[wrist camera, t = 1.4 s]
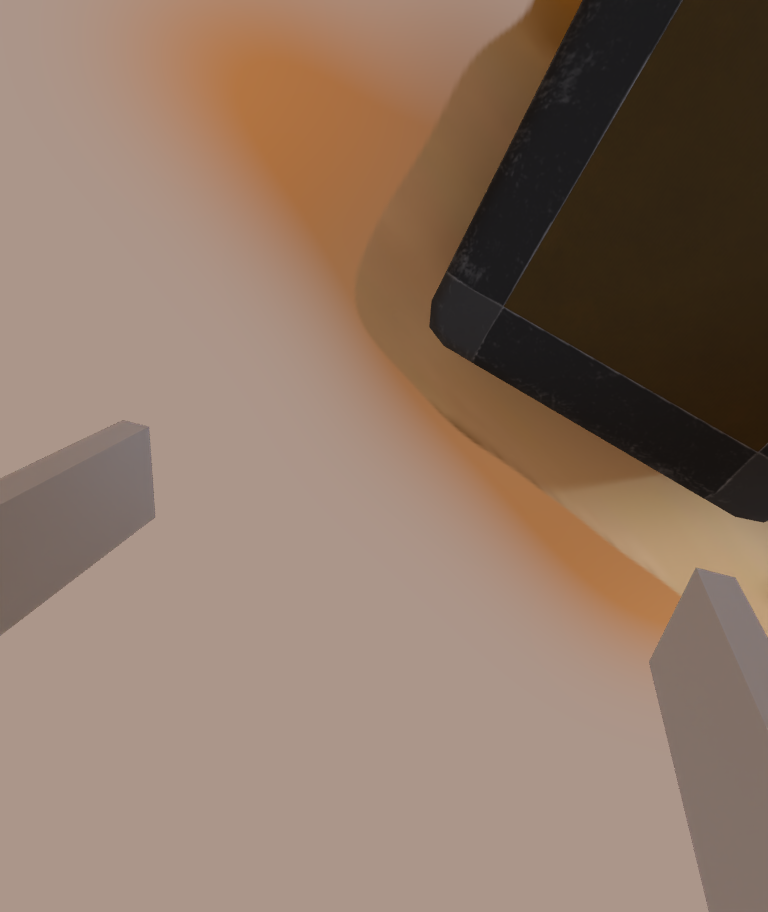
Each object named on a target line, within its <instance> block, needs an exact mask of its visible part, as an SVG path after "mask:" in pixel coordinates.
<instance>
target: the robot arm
mask: <svg viewBox="0 0 768 912" xmlns="http://www.w3.org/2000/svg"><path fill="white" fill-rule="evenodd" d="M149 435H150V434H149V427H147V426H144V425H140V424H136V423H132V422H128V421H125V420H122V421H121V422H118V423H116V424H114V425H112V426H110V427H108V428H105V429H104V430H101V431H99V432H97V433H95V434H93V435H91V436H89V437H87V438H84V439H82V440H80V441H78V442H76V443H74V444H72V445H70V446H68V447H66V448H63V449H61V450H59V451H57V452H55V453H53V454H51V455H49V456H47V457H44V458H42V459H40V460H38V461H36V462H34V463H32V464H30V465H28V466H26V467H23V468H21V469H19V470H17V471H15V472H13V473H11V474H9V475H7V476H4V477H2V478H0V635H2V634H3V633H4V632H6V631H7V630H8V629H10V628H11V627H12V626H13V625H15V624H16V623H17V622H19V621H20V620H21V619H23V618H24V617H25V616H27V615H28V614H29V613H30V612H32V611H33V610H34V609H36V608H37V607H38V606H40V605H41V604H42V603H44V602H45V601H46V600H48V599H49V598H50V597H51V596H53V595H54V594H55V593H57V592H58V591H59V590H61V589H62V588H63V587H64V586H66V585H67V584H68V583H69V582H71V581H72V580H74V579H75V578H76V577H78V576H79V575H80V574H81V573H83V572H84V571H85V570H87V569H88V568H89V567H91V566H92V565H93V564H94V563H96V562H97V561H99V560H100V559H101V558H102V557H104V556H105V555H106V554H108V553H109V552H110V551H112V550H113V549H114V548H116V547H117V546H118V545H119V544H121V543H122V542H123V541H125V540H126V539H127V538H129V537H130V536H131V535H133V534H134V533H135V532H136V531H138V530H139V529H140V528H142V527H143V526H144V525H146V524H147V523H148V522H149V521H151V520H152V519H153V518H155V506H154V494H153V493H154V492H153V477H152V463H151V449H150V436H149ZM649 663H650V668H651V672H652V676H653V680H654V685H655V689H656V692H657V697H658V701H659V705H660V710H661V714H662V718H663V722H664V726H665V731H666V735H667V738H668V743H669V747H670V751H671V756H672V760H673V764H674V768H675V772H676V776H677V780H678V785H679V789H680V793H681V797H682V801H683V806H684V810H685V814H686V818H687V822H688V826H689V830H690V834H691V839H692V843H693V847H694V851H695V855H696V860H697V864H698V868H699V872H700V876H701V880H702V885H703V889H704V893H705V897H706V901H707V906H708V910H709V912H768V638H767V636H766V634H765V632H764V630H763V628H762V626H761V624H760V623H759V621H758V619H757V617H756V615H755V613H754V611H753V610H752V608H751V606H750V604H749V602H748V600H747V598H746V597H745V595H744V593H743V591H742V589H741V587H740V585H739V584H738V582H737V580H736V578H734V577H731V576H727V575H723V574H719V573H715V572H711V571H707V570H703V569H699V568H695V570H694V572H693V574H692V576H691V578H690V580H689V582H688V584H687V587H686V589H685V591H684V593H683V595H682V597H681V599H680V601H679V603H678V605H677V607H676V609H675V611H674V613H673V615H672V617H671V619H670V621H669V623H668V625H667V627H666V629H665V631H664V633H663V635H662V637H661V639H660V641H659V643H658V645H657V647H656V649H655V651H654V653H653V655H652V657H651V659H650V661H649Z"/></svg>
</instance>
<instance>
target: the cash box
mask: <svg viewBox="0 0 768 912" xmlns="http://www.w3.org/2000/svg"><path fill="white" fill-rule="evenodd" d="M429 327H430V328H431V330H432V331H433V332H434V334H435V335H436V336H437V337H438V339H439V340H440V341H441V343H442V344H443V345H444V346H445V347H447V348H449V349H450V350H452V351H454V352H455V353H457V354H459V355H461V356H462V357H464V358H466V359H467V360H469V361H471V362H472V363H474V364H476V365H477V366H479V367H481V368H482V369H484V370H486V371H488V372H489V373H491V374H493V375H494V376H496V377H498V378H499V379H501V380H503V381H505V382H506V383H508V384H510V385H511V386H513V387H515V388H517V389H518V390H520V391H522V392H523V393H525V394H527V395H528V396H530V397H532V398H534V399H535V400H537V401H539V402H540V403H542V404H544V405H545V406H547V407H549V408H551V409H552V410H554V411H556V412H557V413H559V414H561V415H563V416H564V417H566V418H568V419H569V420H571V421H573V422H574V423H576V424H578V425H580V426H581V427H583V428H585V429H586V430H588V431H590V432H591V433H593V434H595V435H597V436H598V437H600V438H602V439H603V440H605V441H607V442H609V443H610V444H612V445H614V446H615V447H617V448H619V449H620V450H622V451H624V452H626V453H627V454H629V455H631V456H632V457H634V458H636V459H637V460H639V461H641V462H643V463H644V464H646V465H648V466H649V467H651V468H653V469H655V470H656V471H658V472H660V473H661V474H663V475H665V476H666V477H668V478H670V479H672V480H673V481H675V482H677V483H678V484H680V485H682V486H684V487H685V488H687V489H689V490H690V491H692V492H694V493H695V494H697V495H699V496H701V497H702V498H704V499H706V500H708V501H709V502H711V503H713V504H714V505H716V506H718V507H720V508H721V509H723V510H725V511H726V512H728V513H730V514H732V515H733V516H735V517H739V518H744V519H749V520H754V521H759V522H766V521H768V0H583V1H582V3H581V5H580V7H579V9H578V11H577V13H576V15H575V16H574V18H573V20H572V22H571V24H570V26H569V28H568V30H567V32H566V34H565V36H564V38H563V40H562V42H561V44H560V46H559V48H558V50H557V52H556V54H555V56H554V58H553V60H552V62H551V64H550V66H549V68H548V70H547V72H546V74H545V76H544V78H543V80H542V82H541V84H540V86H539V88H538V90H537V92H536V94H535V96H534V98H533V100H532V102H531V104H530V106H529V108H528V110H527V112H526V114H525V116H524V118H523V120H522V122H521V124H520V126H519V128H518V130H517V132H516V134H515V136H514V138H513V140H512V142H511V144H510V146H509V148H508V150H507V152H506V154H505V156H504V158H503V160H502V162H501V164H500V166H499V168H498V170H497V172H496V174H495V176H494V178H493V180H492V182H491V184H490V186H489V188H488V190H487V192H486V194H485V196H484V198H483V200H482V202H481V204H480V206H479V208H478V209H477V211H476V213H475V215H474V217H473V219H472V221H471V223H470V225H469V227H468V229H467V231H466V233H465V235H464V237H463V239H462V241H461V243H460V245H459V247H458V249H457V251H456V253H455V255H454V257H453V259H452V261H451V263H450V265H449V267H448V269H447V271H446V273H445V275H444V277H443V279H442V281H441V283H440V285H439V287H438V289H437V291H436V293H435V295H434V297H433V299H432V304H431V315H430V326H429Z"/></svg>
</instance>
